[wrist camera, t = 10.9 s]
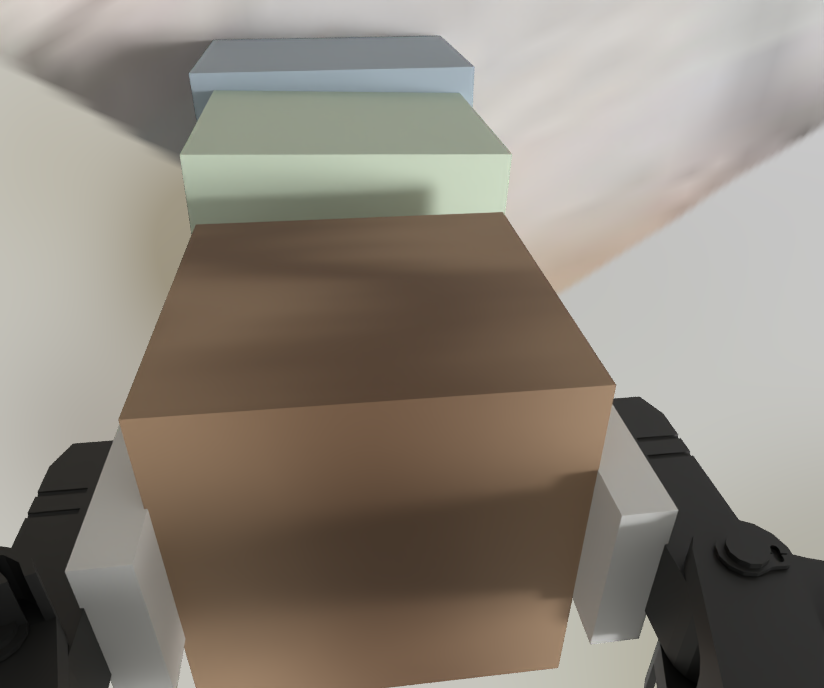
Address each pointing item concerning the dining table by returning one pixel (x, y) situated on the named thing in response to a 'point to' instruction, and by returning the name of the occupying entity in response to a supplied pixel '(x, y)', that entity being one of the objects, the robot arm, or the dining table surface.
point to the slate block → (332, 66)
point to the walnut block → (367, 451)
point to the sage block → (340, 157)
